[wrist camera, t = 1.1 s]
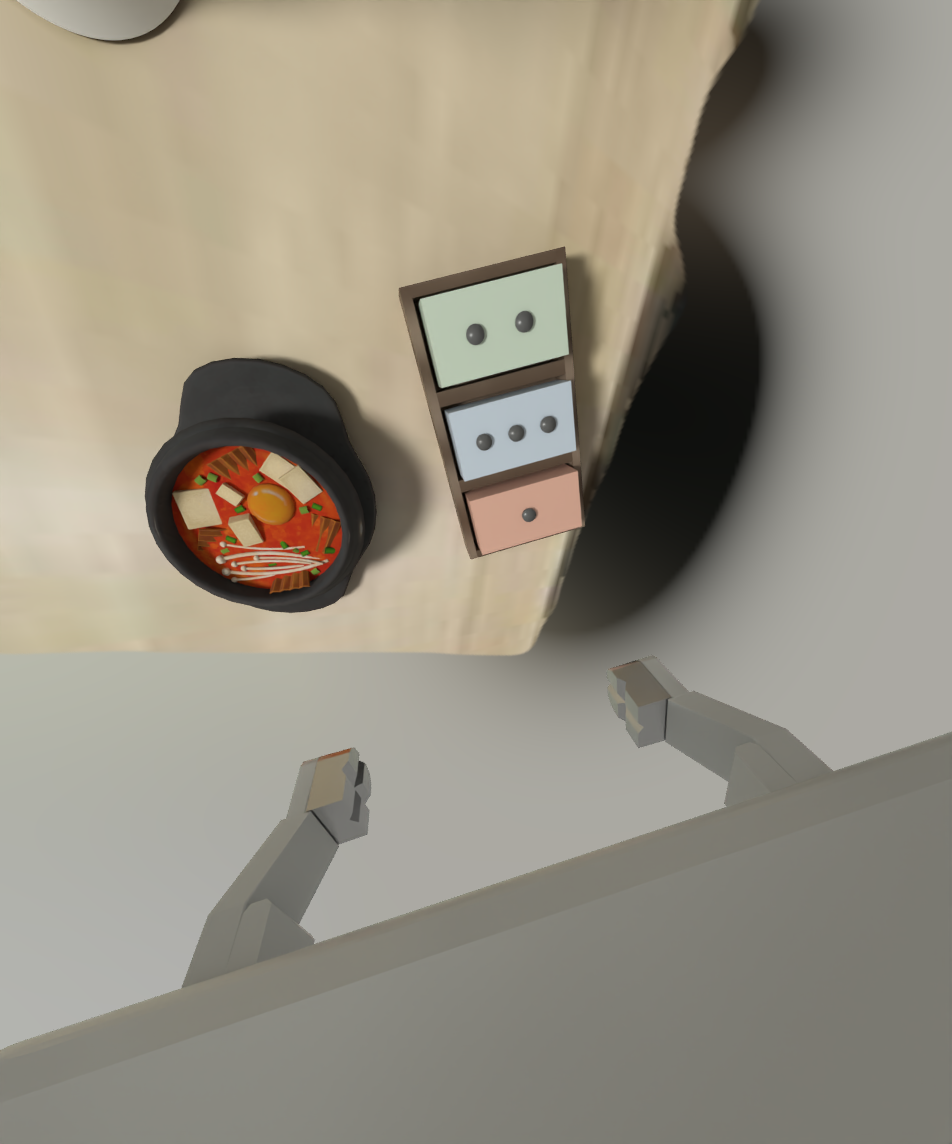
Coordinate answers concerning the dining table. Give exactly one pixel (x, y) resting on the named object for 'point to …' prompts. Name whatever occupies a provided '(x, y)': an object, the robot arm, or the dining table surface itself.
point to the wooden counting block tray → (486, 381)
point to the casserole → (260, 489)
